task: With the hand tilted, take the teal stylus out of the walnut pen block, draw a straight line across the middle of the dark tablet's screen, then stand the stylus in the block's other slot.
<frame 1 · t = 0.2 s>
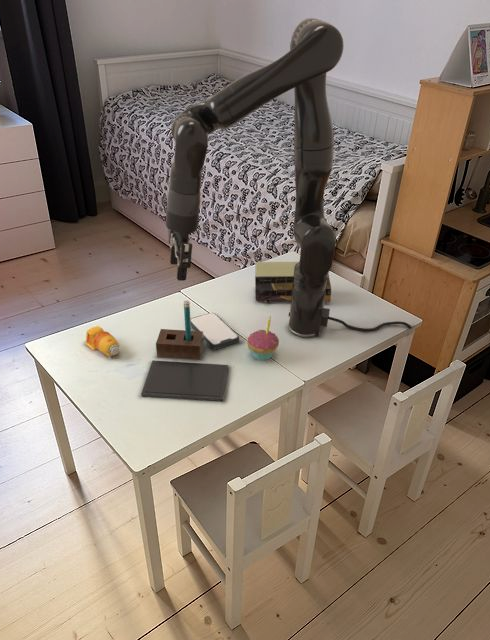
hand: (177, 271, 135), 22 cm above the table, tool pointing down, fingers open, 8 cm apart
pen stand: (180, 350, 147), on the table
cupcake: (262, 356, 147), on the table
smartphone: (213, 332, 155), on the table
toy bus: (291, 297, 171), on the table
toy figure: (104, 350, 147), on the table
stylus: (189, 351, 147), resting in pen stand
tablet: (186, 381, 137), on the table
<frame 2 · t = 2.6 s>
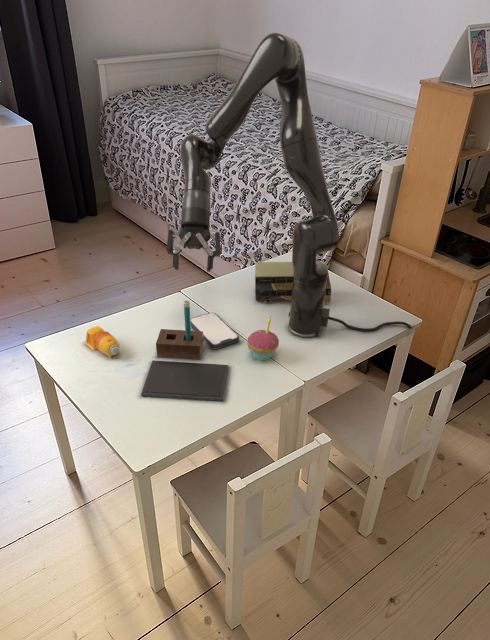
hand: (192, 270, 144), 19 cm above the table, tool tilted 45°, fingers open, 8 cm apart
nothing on the table moved.
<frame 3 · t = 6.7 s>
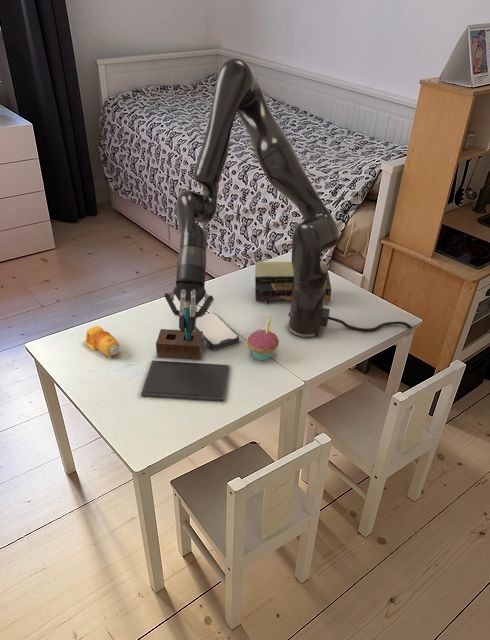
hand: (186, 331, 140), 8 cm above the table, tool tilted 45°, fingers closed on stylus, 1 cm apart
stylus: (189, 351, 147), resting in pen stand, touching gripper
everything else where it was.
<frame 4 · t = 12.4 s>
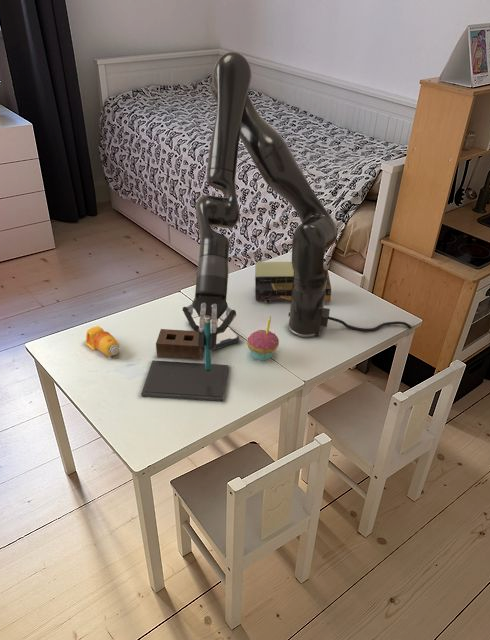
hand: (206, 349, 128), 12 cm above the table, tool tilted 45°, fingers closed on stylus, 1 cm apart
stylus: (208, 369, 135), point 4 cm above the table, touching gripper
everything else where it was.
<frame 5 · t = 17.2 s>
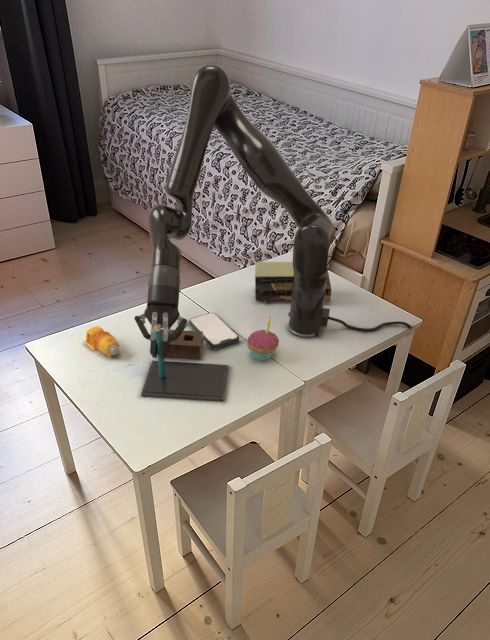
hand: (158, 357, 130), 9 cm above the table, tool tilted 45°, fingers closed on stylus, 1 cm apart
stylus: (162, 376, 137), point 1 cm above the table, touching gripper, tablet
everything else where it was.
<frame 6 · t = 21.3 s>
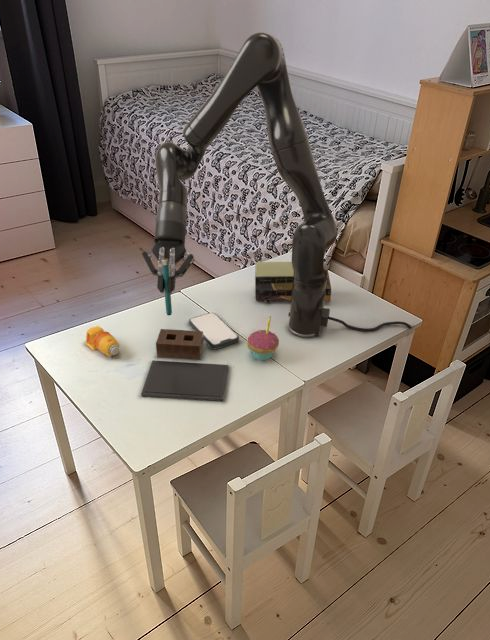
hand: (165, 292, 133), 19 cm above the table, tool tilted 45°, fingers closed on stylus, 1 cm apart
stylus: (169, 314, 140), point 12 cm above the table, touching gripper
everything else where it was.
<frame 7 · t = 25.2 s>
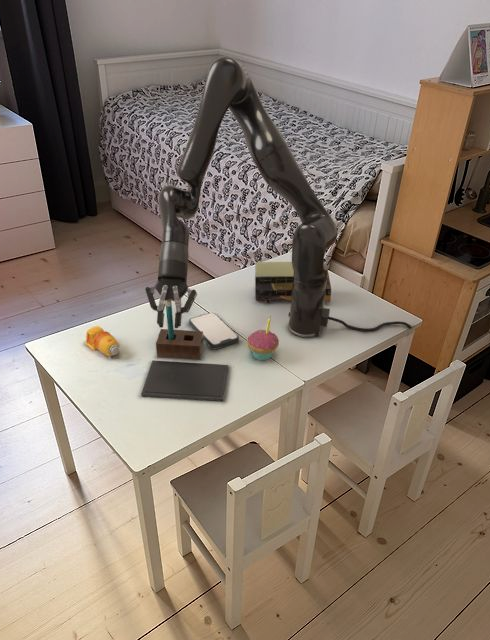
hand: (168, 326, 140), 9 cm above the table, tool tilted 45°, fingers open, 3 cm apart
stylus: (172, 350, 147), resting in pen stand
everything else where it was.
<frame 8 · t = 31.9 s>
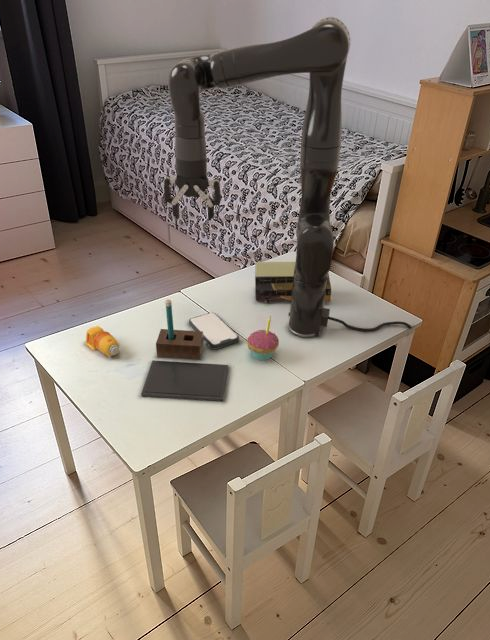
hand: (193, 218, 142), 30 cm above the table, tool pointing down, fingers open, 8 cm apart
nothing on the table moved.
at the end: stylus 0.0 cm from the target spot in the pen stand, point 0.0 cm above the pen stand's base; stylus tilted 0°; the gripper is holding nothing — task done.
